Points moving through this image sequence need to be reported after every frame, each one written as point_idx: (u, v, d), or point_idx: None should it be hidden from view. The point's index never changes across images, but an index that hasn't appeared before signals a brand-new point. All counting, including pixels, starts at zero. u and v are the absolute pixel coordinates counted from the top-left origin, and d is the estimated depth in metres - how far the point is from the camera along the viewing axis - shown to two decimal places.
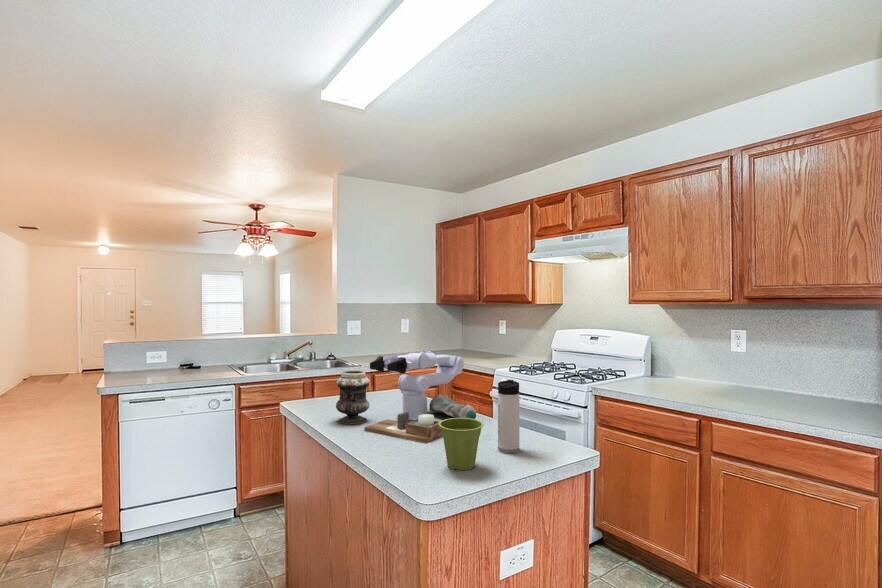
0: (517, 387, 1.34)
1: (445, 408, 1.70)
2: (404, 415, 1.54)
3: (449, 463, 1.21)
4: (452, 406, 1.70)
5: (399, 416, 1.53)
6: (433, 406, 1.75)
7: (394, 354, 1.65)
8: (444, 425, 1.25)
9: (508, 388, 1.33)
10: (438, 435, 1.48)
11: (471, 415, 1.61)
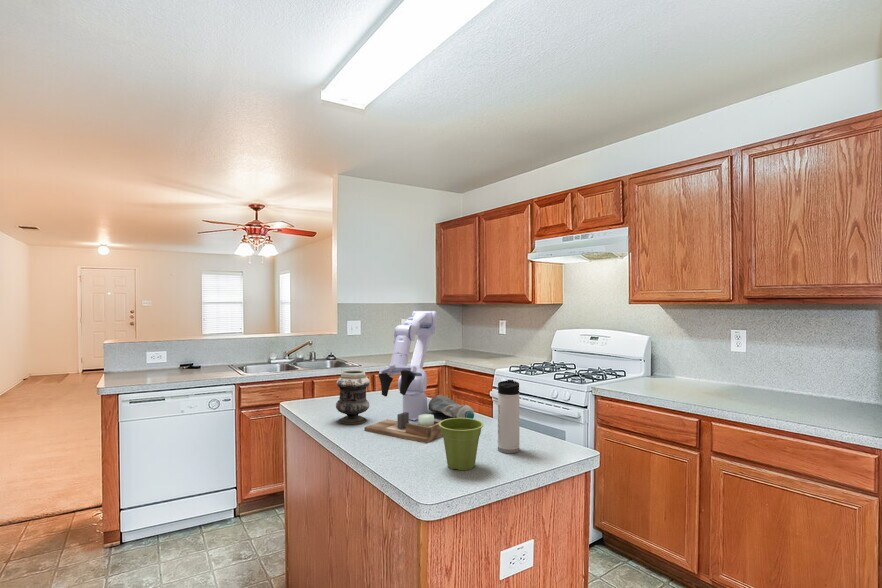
0: (517, 387, 1.34)
1: (443, 408, 1.69)
2: (404, 415, 1.54)
3: (449, 463, 1.21)
4: (450, 406, 1.69)
5: (399, 416, 1.53)
6: (432, 406, 1.75)
7: (391, 366, 1.56)
8: (444, 425, 1.25)
9: (508, 388, 1.33)
10: (438, 435, 1.48)
11: (469, 415, 1.61)
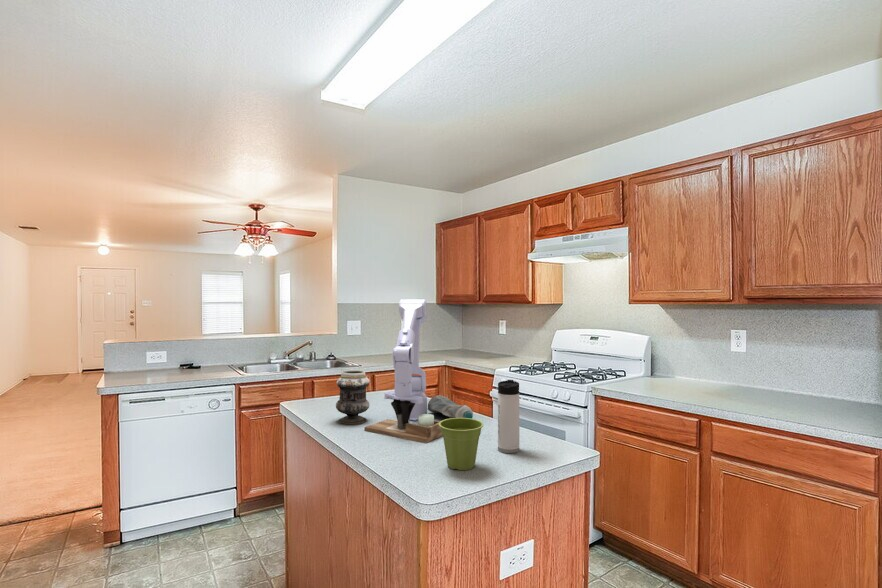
0: (517, 387, 1.34)
1: (442, 408, 1.69)
2: None
3: (449, 463, 1.21)
4: (449, 406, 1.69)
5: (399, 416, 1.53)
6: (431, 406, 1.75)
7: None
8: (444, 425, 1.25)
9: (508, 388, 1.33)
10: (438, 435, 1.48)
11: (467, 416, 1.60)
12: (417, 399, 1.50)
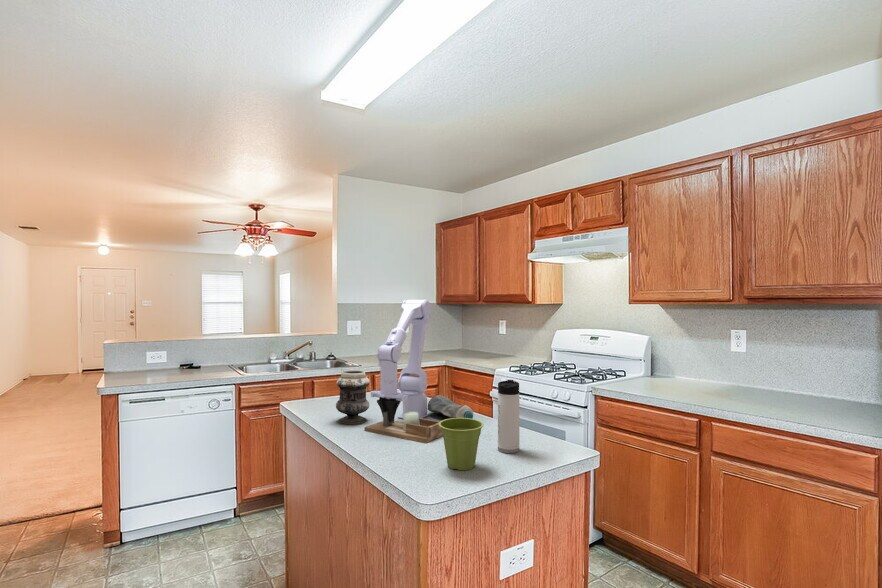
0: (517, 387, 1.34)
1: (442, 408, 1.69)
2: None
3: (449, 463, 1.21)
4: (450, 406, 1.69)
5: (385, 414, 1.56)
6: (431, 406, 1.75)
7: (381, 396, 1.55)
8: (444, 425, 1.25)
9: (508, 388, 1.33)
10: (438, 435, 1.48)
11: (468, 416, 1.61)
12: (402, 397, 1.54)
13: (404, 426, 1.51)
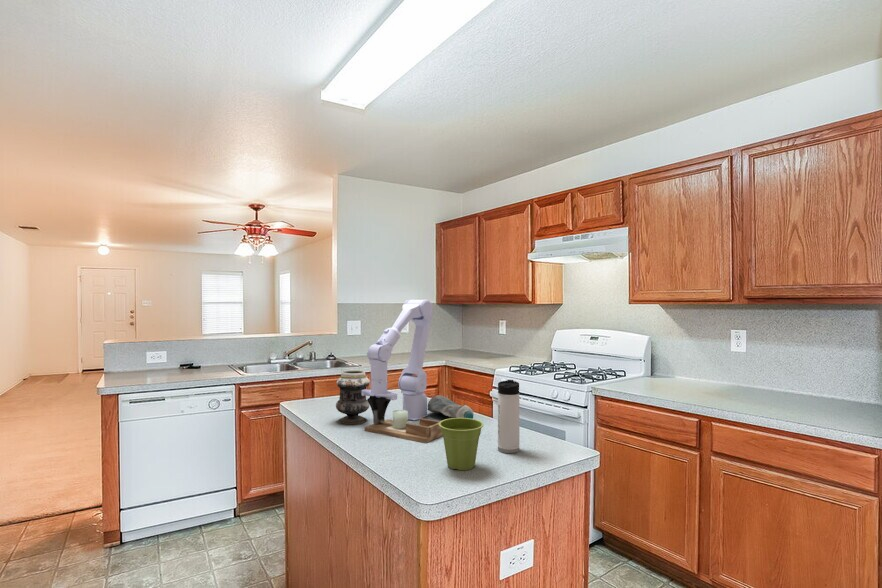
0: (517, 387, 1.34)
1: (443, 408, 1.69)
2: None
3: (449, 463, 1.21)
4: (450, 406, 1.69)
5: (375, 412, 1.59)
6: (431, 406, 1.75)
7: None
8: (444, 425, 1.25)
9: (508, 388, 1.33)
10: (438, 435, 1.48)
11: (468, 416, 1.61)
12: (392, 395, 1.56)
13: (394, 424, 1.54)
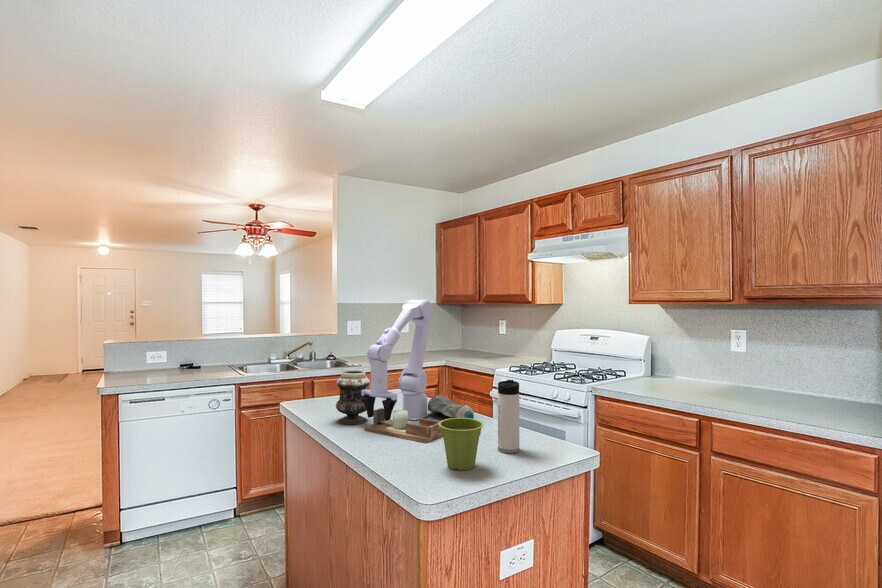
0: (517, 387, 1.34)
1: (443, 408, 1.69)
2: (380, 411, 1.60)
3: (449, 463, 1.21)
4: (450, 406, 1.69)
5: (375, 412, 1.59)
6: (431, 406, 1.75)
7: None
8: (444, 425, 1.25)
9: (508, 388, 1.33)
10: (438, 435, 1.48)
11: (469, 415, 1.61)
12: (392, 395, 1.56)
13: (393, 424, 1.54)
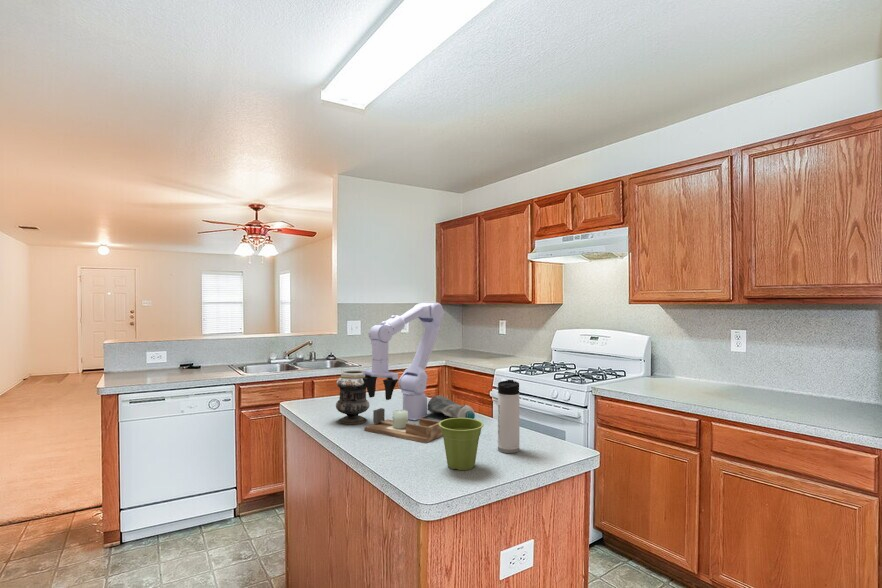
0: (517, 387, 1.34)
1: (443, 408, 1.69)
2: (380, 411, 1.60)
3: (449, 463, 1.21)
4: (450, 406, 1.69)
5: (375, 412, 1.59)
6: (431, 406, 1.74)
7: (373, 375, 1.60)
8: (444, 425, 1.25)
9: (508, 388, 1.33)
10: (438, 435, 1.48)
11: (470, 415, 1.61)
12: (393, 375, 1.58)
13: (393, 424, 1.54)
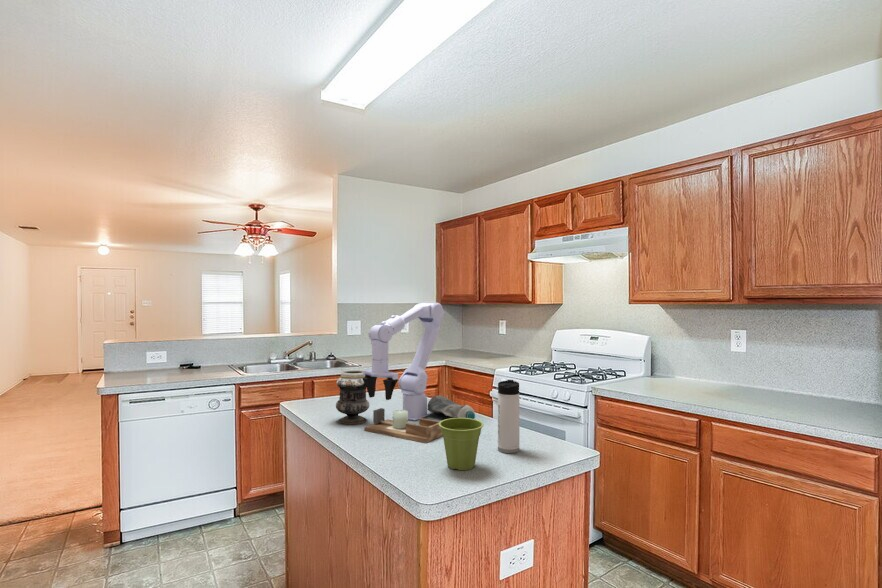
0: (517, 387, 1.34)
1: (444, 408, 1.69)
2: (380, 411, 1.60)
3: (449, 463, 1.21)
4: (451, 406, 1.69)
5: (375, 412, 1.59)
6: (431, 406, 1.74)
7: (373, 375, 1.60)
8: (444, 425, 1.25)
9: (508, 388, 1.33)
10: (438, 435, 1.48)
11: (470, 415, 1.61)
12: (393, 375, 1.58)
13: (393, 424, 1.54)
